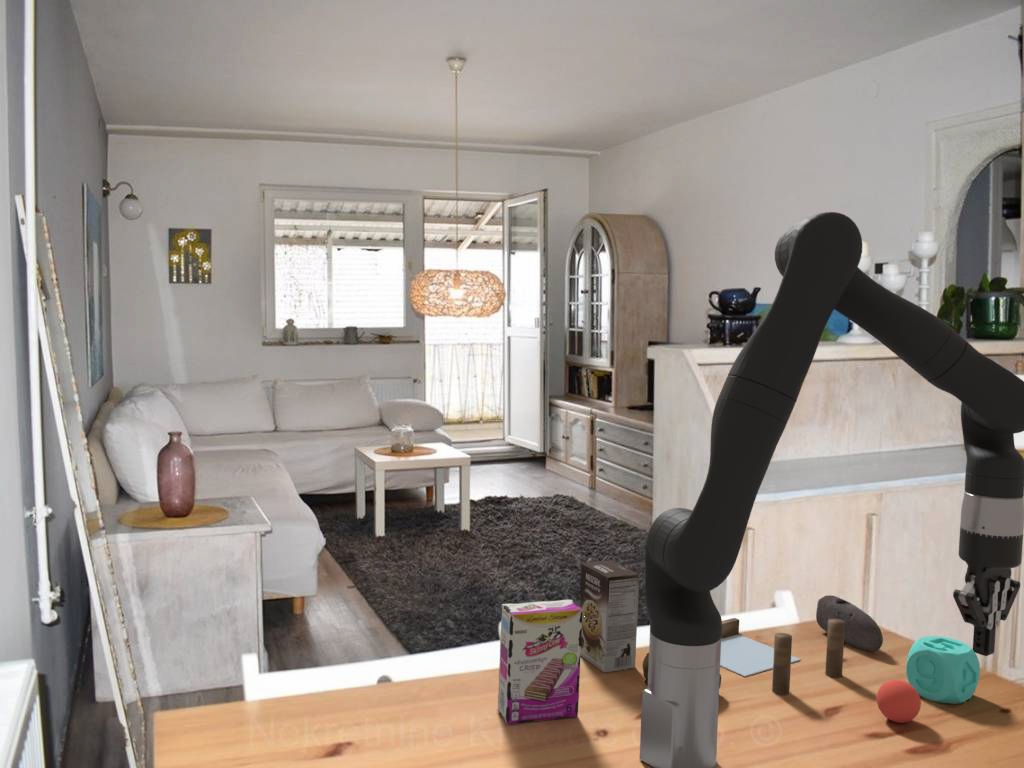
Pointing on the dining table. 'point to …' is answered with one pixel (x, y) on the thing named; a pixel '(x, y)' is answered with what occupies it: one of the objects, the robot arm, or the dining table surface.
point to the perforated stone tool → (850, 622)
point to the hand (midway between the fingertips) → (983, 653)
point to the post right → (835, 648)
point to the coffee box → (609, 615)
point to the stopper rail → (730, 627)
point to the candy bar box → (539, 661)
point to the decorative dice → (943, 669)
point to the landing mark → (746, 655)
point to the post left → (782, 663)
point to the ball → (898, 701)
